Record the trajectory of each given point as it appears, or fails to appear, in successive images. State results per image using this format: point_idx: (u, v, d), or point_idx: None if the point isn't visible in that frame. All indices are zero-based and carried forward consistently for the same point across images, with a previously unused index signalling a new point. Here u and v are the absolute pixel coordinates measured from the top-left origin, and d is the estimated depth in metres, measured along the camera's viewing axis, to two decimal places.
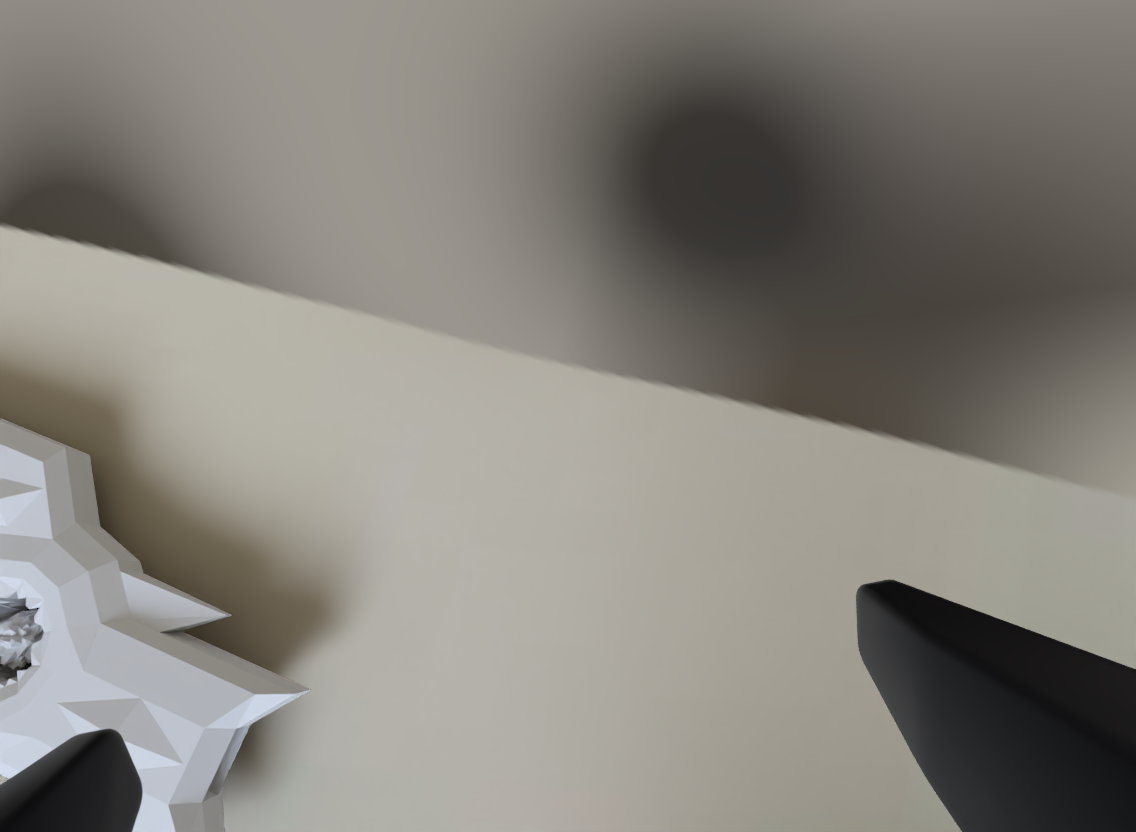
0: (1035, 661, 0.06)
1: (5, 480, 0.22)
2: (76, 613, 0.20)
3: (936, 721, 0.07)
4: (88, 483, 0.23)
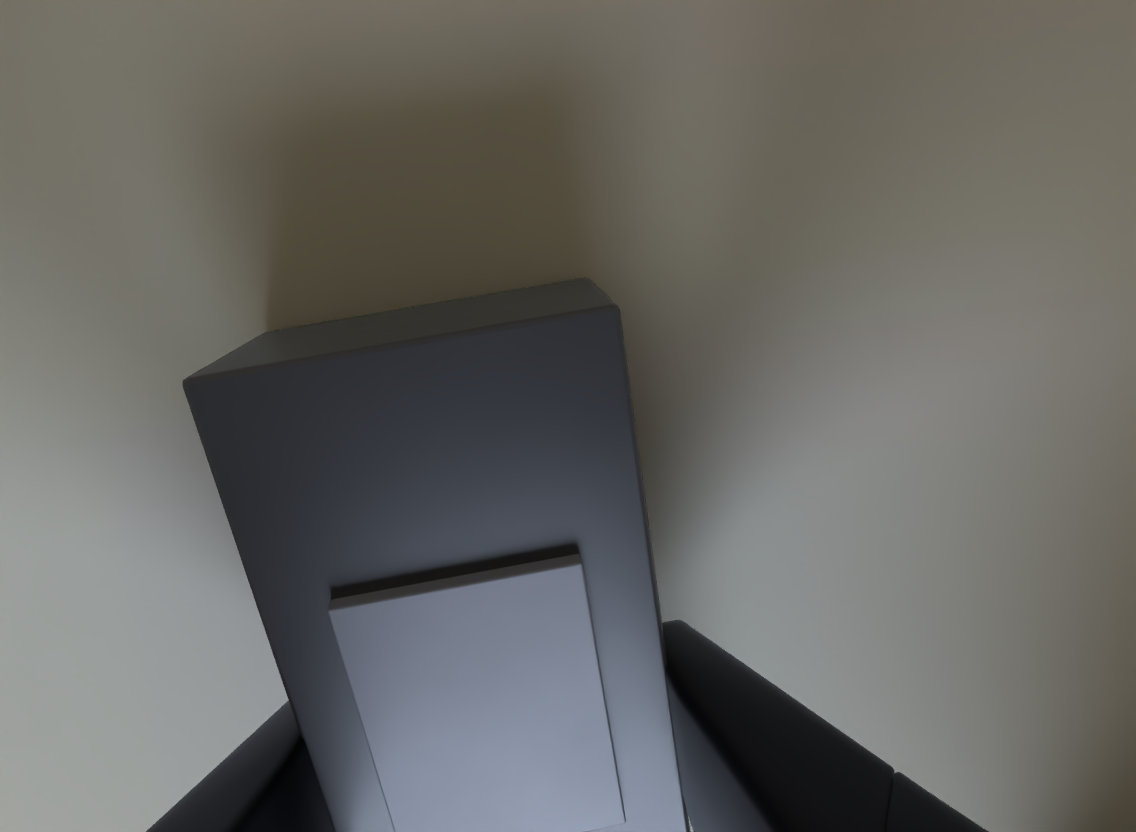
0: (751, 717, 0.06)
1: None
2: None
3: (688, 771, 0.07)
4: None
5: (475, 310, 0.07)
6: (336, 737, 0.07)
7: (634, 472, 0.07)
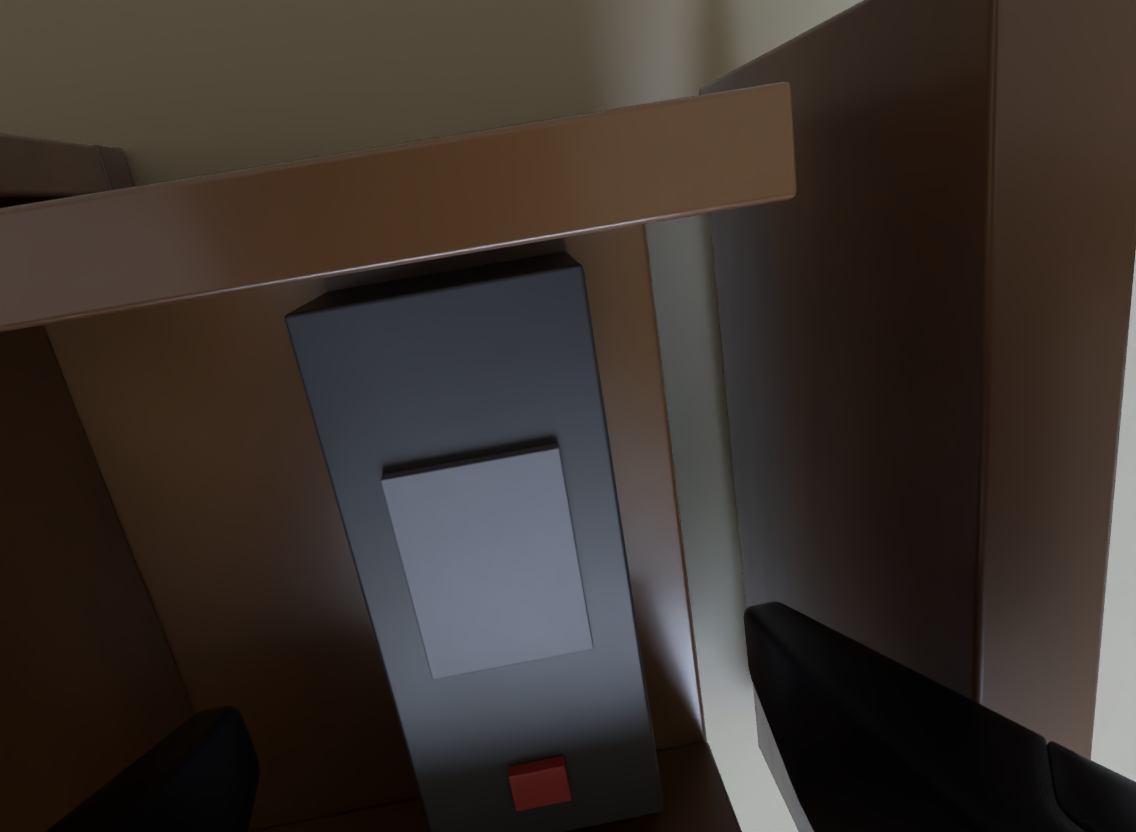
0: (882, 691, 0.06)
1: None
2: None
3: (802, 748, 0.07)
4: None
5: (483, 272, 0.10)
6: (383, 579, 0.10)
7: (595, 383, 0.09)
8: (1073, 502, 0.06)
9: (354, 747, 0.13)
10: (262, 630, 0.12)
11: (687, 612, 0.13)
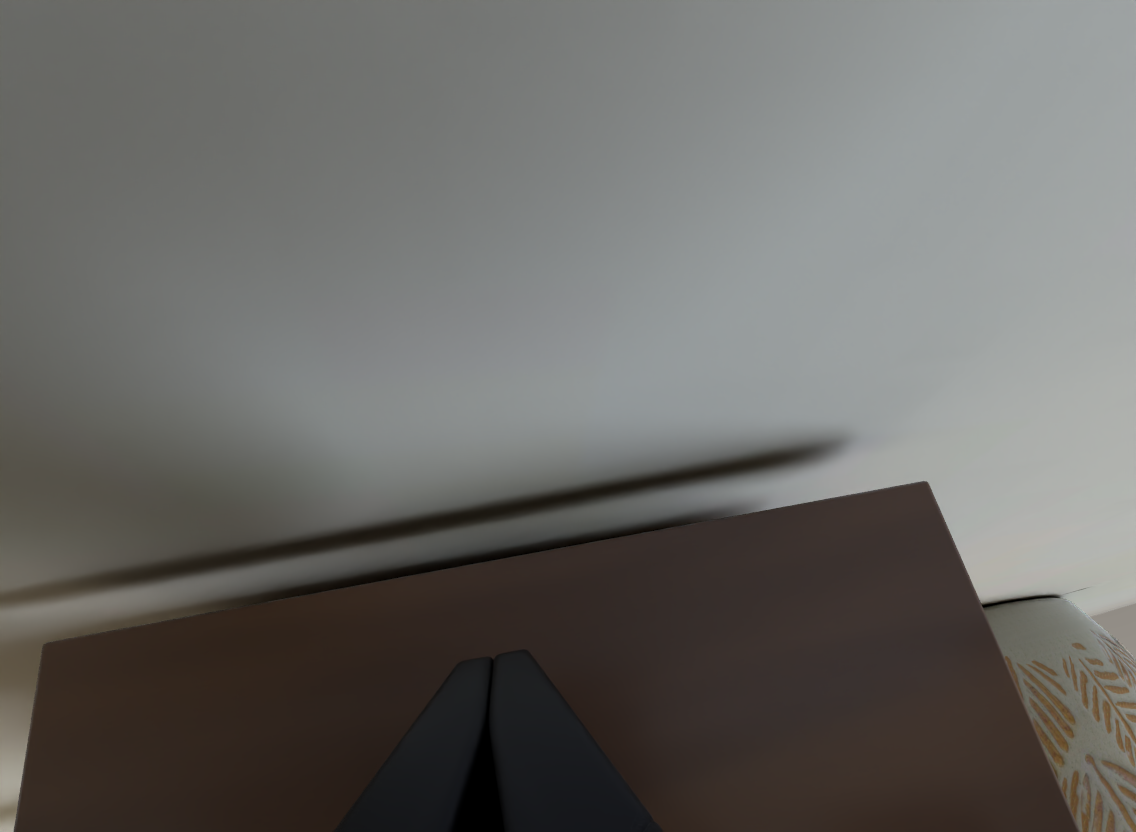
0: (543, 758, 0.06)
1: None
2: None
3: None
4: None
5: None
6: None
7: None
8: None
9: None
10: None
11: None
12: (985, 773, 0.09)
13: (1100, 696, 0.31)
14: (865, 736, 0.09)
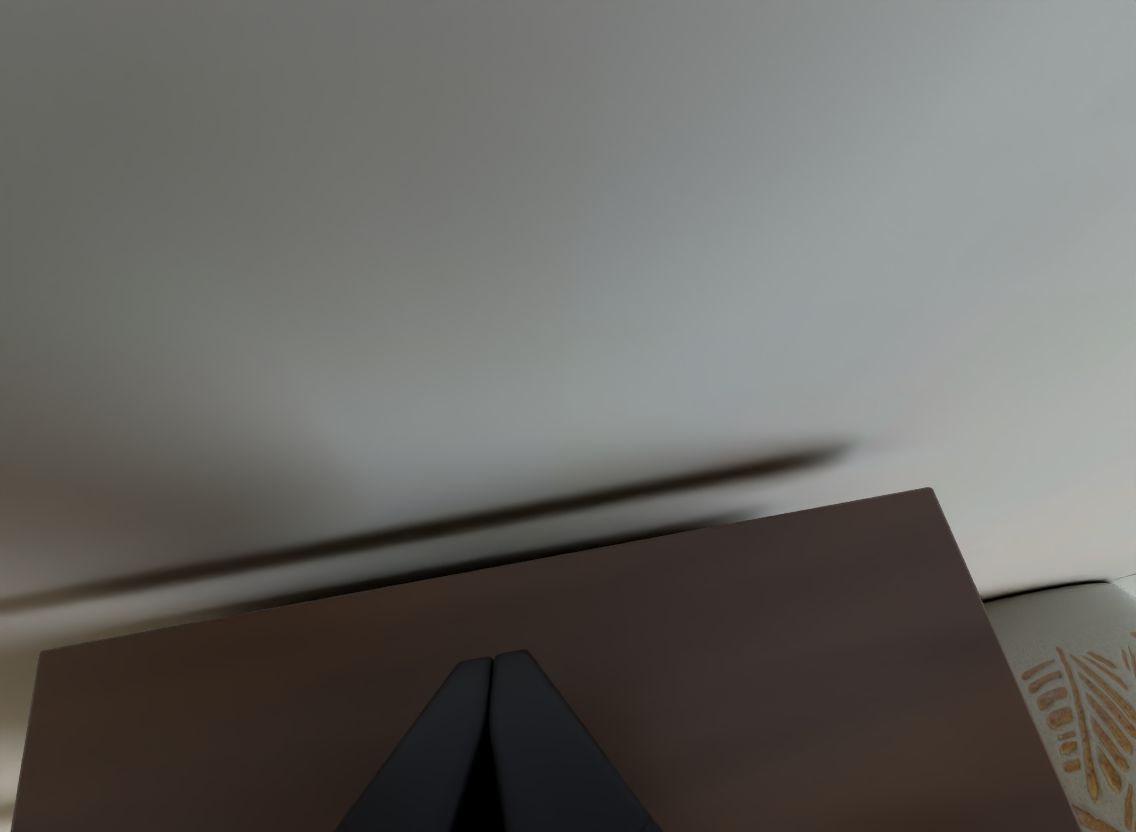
0: (542, 758, 0.06)
1: None
2: None
3: None
4: None
5: None
6: None
7: None
8: None
9: None
10: None
11: None
12: (991, 783, 0.09)
13: None
14: (870, 746, 0.09)
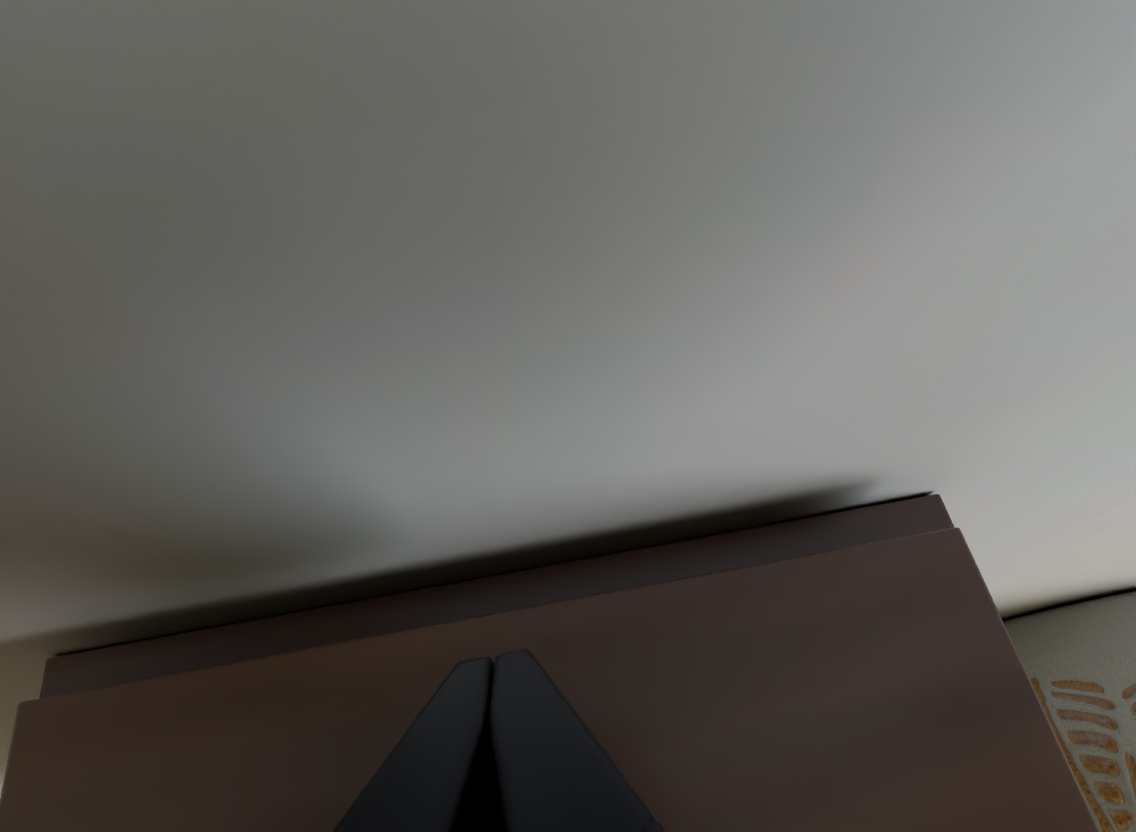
0: (544, 758, 0.06)
1: None
2: None
3: None
4: None
5: None
6: None
7: None
8: None
9: None
10: None
11: None
12: None
13: None
14: (901, 810, 0.09)
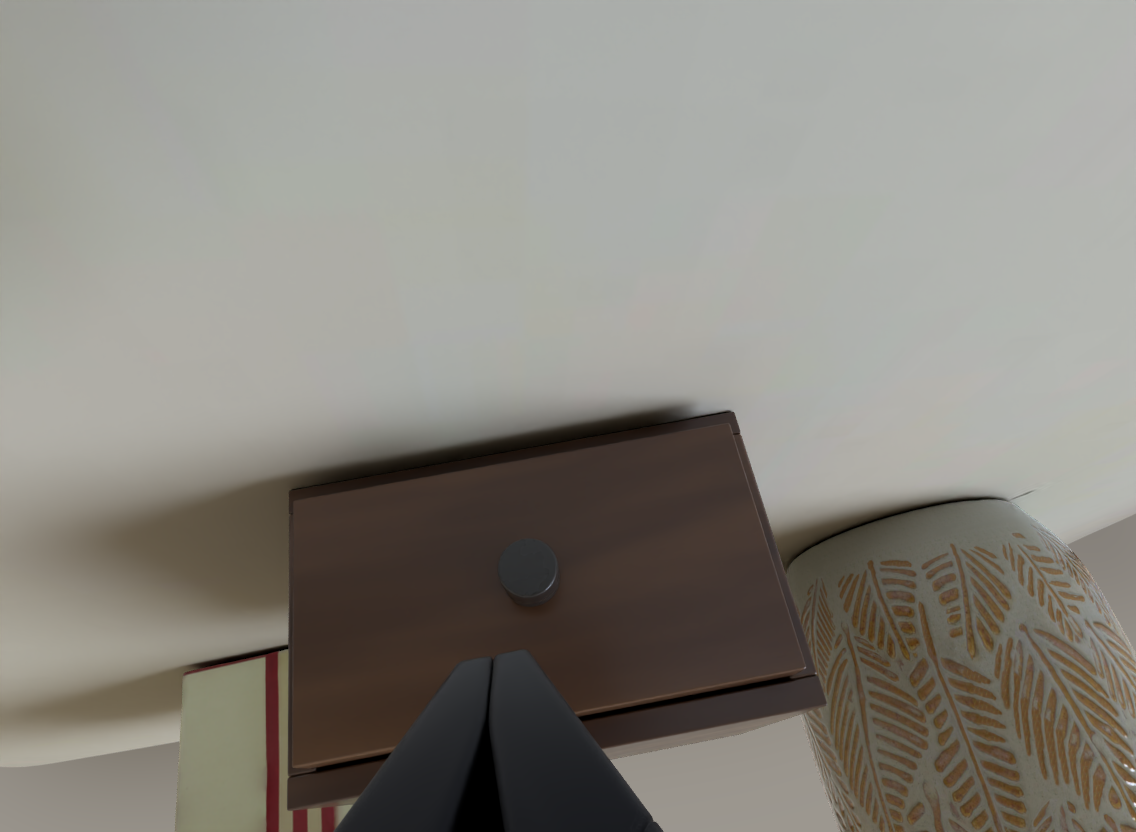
0: (542, 758, 0.06)
1: None
2: None
3: None
4: None
5: None
6: None
7: None
8: None
9: None
10: None
11: None
12: (737, 550, 0.20)
13: (1035, 575, 0.34)
14: (685, 536, 0.20)
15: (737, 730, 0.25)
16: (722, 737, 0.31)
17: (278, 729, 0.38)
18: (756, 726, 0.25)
